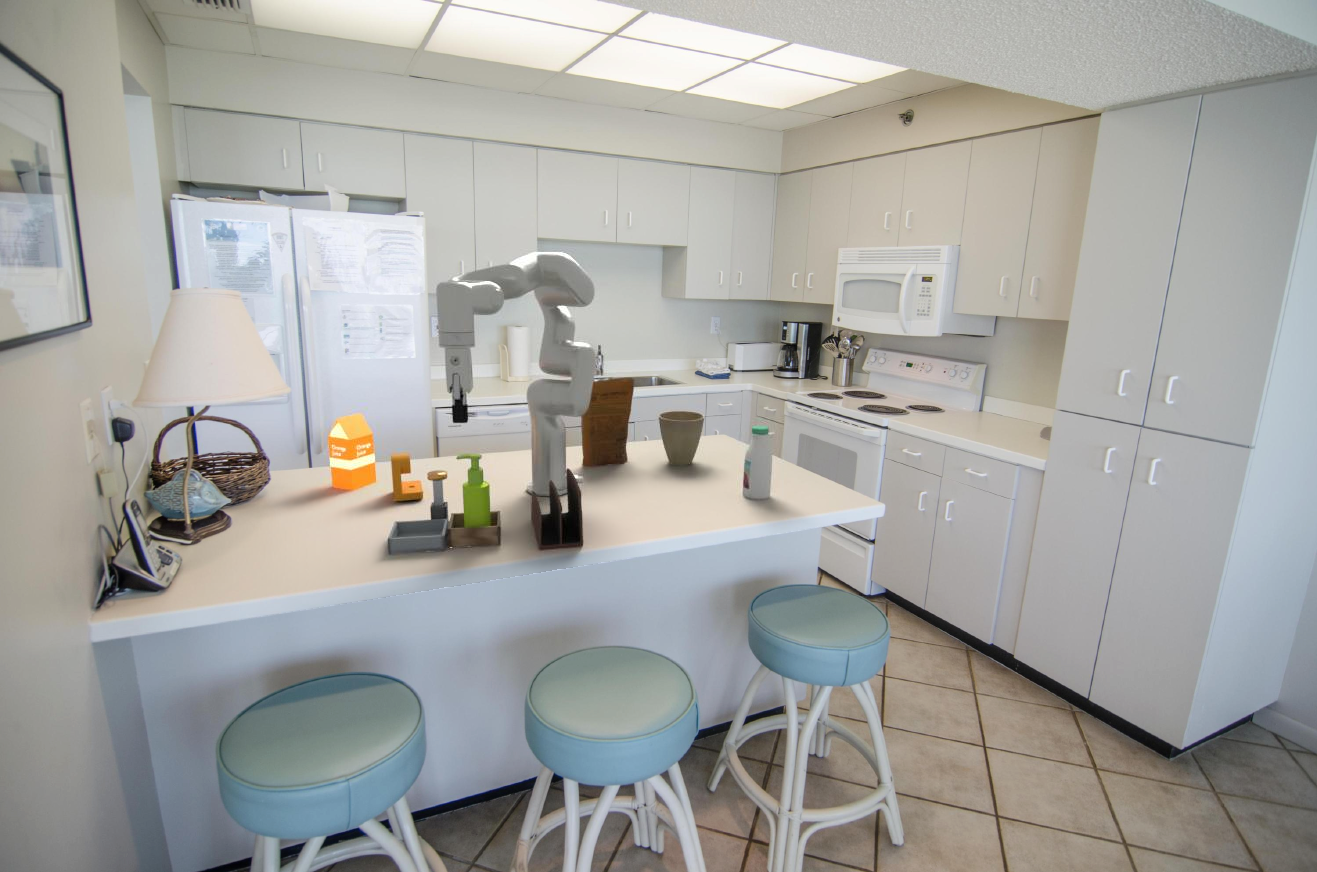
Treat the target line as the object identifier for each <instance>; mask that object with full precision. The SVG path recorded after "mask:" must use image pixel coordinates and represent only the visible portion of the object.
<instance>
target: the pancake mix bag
mask: <svg viewBox="0 0 1317 872" xmlns="http://www.w3.org/2000/svg"><path fill="white" fill-rule="evenodd" d="M634 388H635V378H633V377H619V378H612V379H606V380H598V381H597V380H596V381H593V387H592V393H591V399H590V403H589V407H588V410H587V411H586V413H585V414H584V415H582V416H580V419H581V421H580V426H581V427H580V429H581V447H582V449H581V451H582V461H581V463H582V464H581V466H583V467H589V468H590V467H591V468H596V467H601V466H603V467H604V466H609V465H610V466H611V465H617V464H624V463H627V462H628V460H629V459H628V454H627V441H628V435H629V421H630V417H631V411H632V402H633V397H634V390H635V389H634Z"/></svg>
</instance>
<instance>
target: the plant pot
mask: <svg viewBox="0 0 1317 872" xmlns="http://www.w3.org/2000/svg"><path fill="white" fill-rule="evenodd" d="M704 421H705V415H704V414H702V413H699V412H697V411H696V412H695V411H687V410H670V411H663V412H661V413H659V414H658V423H659V430H660V434H661V440H662V445H663V447H664V452H665V454H666V457H667V460H668V463H669V464H671V465H673V466H679V467H680V466H689V465H691V464H692V462H693V460H694V457H695V455H696V453H697V450H698V447H699V444H700V440H701V435H702V432H703V427H704V423H705V422H704Z"/></svg>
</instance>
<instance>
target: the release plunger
mask: <svg viewBox="0 0 1317 872" xmlns="http://www.w3.org/2000/svg"><path fill="white" fill-rule="evenodd" d="M426 476H427V480H428V481H431V482H432V491H433V502H434V507H438V506H444V502H445V501H444V485H443V483H444V480H447V478H448V471H446V470H431V471H429V472H427V474H426Z"/></svg>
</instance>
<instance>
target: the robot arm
mask: <svg viewBox="0 0 1317 872" xmlns="http://www.w3.org/2000/svg"><path fill="white" fill-rule="evenodd" d="M435 290H436V291H435V292H436V295H435V296H436V310H437V312H436V314H437V328H438V329H437V330H438V331H437V332H438V347H439V348H444V366H445V369H444V370H445V379H446V380H445V381H446V383H445V384H446V391H447V392H448V393H449V394H451V399H452V400H451V402H452V405H451V414H452V417H451V418H452V422H453V424H467V423H468V422H469V410H468V409H469V408H468V407H469V405H468V403H467V400H468V399H467V394H470V393H471V392H472V390H473V388H474V378H473V377H474V376H473V360H472V350H471V348H475V347H476V342H475V341H476V338H475V315H476V316H492V315H495V314H497V313H498V312H499V311H501V310H502V308H503V306H504V304H505V301H507V300H513V299H517V298H521V297H523V296H524V295H526V294H528V293H530V292H533V293H534V296H535V299H536V301H537V303H538V305H539V308H540V310H541V313H542V314H543V319H544V320H543V321H544V325H543V326H544V328H543V333H542V339H541V345H540V349H539V355H538V356H539V357H538V367H539V369H540V370H541V371H542V372H543V373H545V374H546V375H552V376H558V377H559V376H560V377H571V379H570V380H561V379H554V378H553V379H552V378H551V379H550V378H538V379H535V380H534V381H532V382H531V383H530V384H529V386H528V387H527V390H526V402H527V407H528V411H529V417H530V418H529V419H530V430H531V431H530V432H531V433H530V435H531V437H530V439H531V442H530V444H531V481H530V483H528V484H527V485H526V491H527V493H529V494H531V495H532V491H534V492H535V494H536V496H540V497H550V496H549V481H550V480H552V482H553V483H554V485H555V487H556V489H557V492H558V495H559V496H561V495H566V494H567V475H566V470H567V442H566V440H567V438H566V437H567V431H566V430H567V429H566V425H565V423H564V421H563V419H562V417H561V416H563V417H565V416H566V417H570V418H571V417H574V418H577V417H578V418H579V417H580V418H581V416H582V415H584V414H585V413H586V411H587V410H588V407H589V403H590V399H591V393H592V387H593V382H595V381H594V379H595V373H596V369H597V368H596V367H597V356H596V352H595V350H594V348H593V347H592V345H590V344H588V343H585V342H579V341H578V342H577V341H574V339H575V334H576V333H575V331H576V323H575V320H574V317H573V316H572V314H571V313H570V311H569V309H568V308H567V307H569V308H570V307H573V308H585V307H587V306H589V305H590V304H592V302H593V301H594V298H595V285H594V282H593V280H592V278H591V277H590V276H589V274H588V273H587V272H586V271H585V270H584V269H583V267H581V265H580V264H579V263H578V262H577V261H576V260H575V259H574V258H572V257H571V256H570V255H569V254H567V253H564V252H557V251H556V252H555V251H554V252H553V251H547V252H546V251H543V252H542V251H535V252H529V253H527V254H525V255H522V256H520V257H518V258H515V259H513V260H511V261H510V260H509V262H506V263H502V264H499V265H494V266H489V267H486V268H482V269H477V270H473V271H469V272H466V273H463V274H460V275H457V276H455V277H453V278H450V279H449V280H447V281H441V282H439V283H437V285H436V289H435ZM573 475H574V474H573ZM574 477H575V478H576V481H577V483H578V484H583V482H584V477H583V476H578V475H577V474H575V475H574Z"/></svg>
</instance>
